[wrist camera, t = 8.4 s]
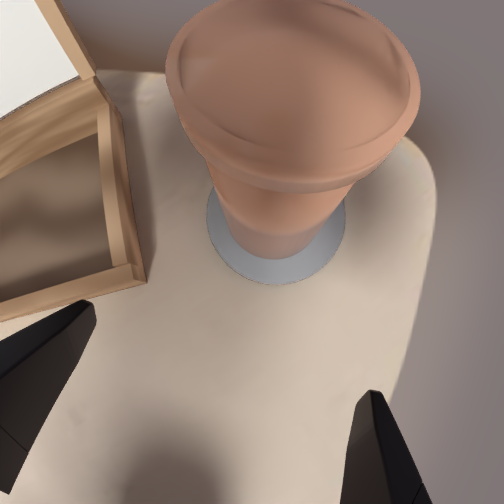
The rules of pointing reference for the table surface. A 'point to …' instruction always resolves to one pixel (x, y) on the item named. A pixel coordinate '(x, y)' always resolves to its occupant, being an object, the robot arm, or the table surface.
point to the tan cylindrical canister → (289, 110)
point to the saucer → (277, 269)
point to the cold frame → (65, 202)
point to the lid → (37, 50)
